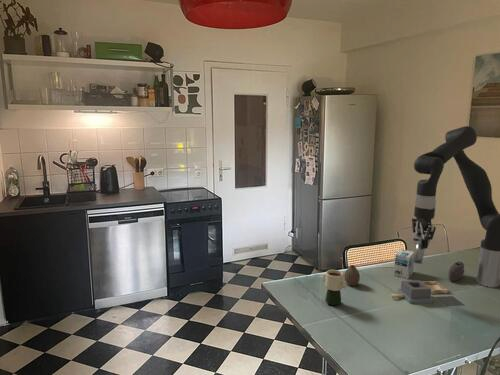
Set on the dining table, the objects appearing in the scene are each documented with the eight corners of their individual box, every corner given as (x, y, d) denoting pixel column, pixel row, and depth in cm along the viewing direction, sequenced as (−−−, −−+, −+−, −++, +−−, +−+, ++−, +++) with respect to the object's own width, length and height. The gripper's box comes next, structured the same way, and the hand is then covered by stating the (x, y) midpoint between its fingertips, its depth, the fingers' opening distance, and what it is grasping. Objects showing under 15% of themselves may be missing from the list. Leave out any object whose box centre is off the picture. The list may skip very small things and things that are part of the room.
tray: (436, 284, 170) (436, 281, 169) (448, 293, 161) (448, 289, 161) (417, 285, 169) (417, 281, 169) (428, 294, 160) (429, 290, 160)
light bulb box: (407, 279, 175) (409, 257, 174) (393, 275, 179) (395, 254, 178) (413, 272, 184) (415, 251, 182) (399, 268, 188) (401, 248, 186)
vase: (357, 281, 172) (359, 263, 171) (360, 287, 165) (361, 269, 164) (342, 280, 173) (343, 262, 171) (344, 287, 166) (346, 268, 164)
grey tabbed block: (407, 259, 155) (411, 234, 154) (422, 260, 156) (427, 235, 154) (412, 263, 151) (417, 237, 149) (428, 264, 152) (432, 238, 150)
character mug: (349, 304, 150) (351, 274, 148) (340, 310, 145) (342, 279, 143) (326, 295, 157) (328, 266, 155) (316, 301, 152) (318, 271, 150)
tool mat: (452, 297, 158) (452, 296, 158) (465, 306, 150) (465, 305, 150) (434, 297, 157) (434, 296, 157) (446, 306, 149) (446, 305, 149)
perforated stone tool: (455, 285, 170) (457, 270, 169) (443, 281, 173) (444, 267, 172) (465, 276, 180) (467, 262, 179) (453, 273, 184) (455, 259, 183)
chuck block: (419, 292, 162) (420, 279, 161) (432, 303, 152) (434, 289, 151) (386, 293, 160) (387, 280, 159) (397, 304, 151) (398, 290, 150)
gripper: (407, 202, 156) (403, 241, 159) (426, 210, 142) (422, 252, 145) (423, 202, 157) (420, 240, 160) (444, 209, 143) (440, 252, 146)
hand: (421, 246), depth 153 cm, fingers closed on grey tabbed block, 4 cm apart
